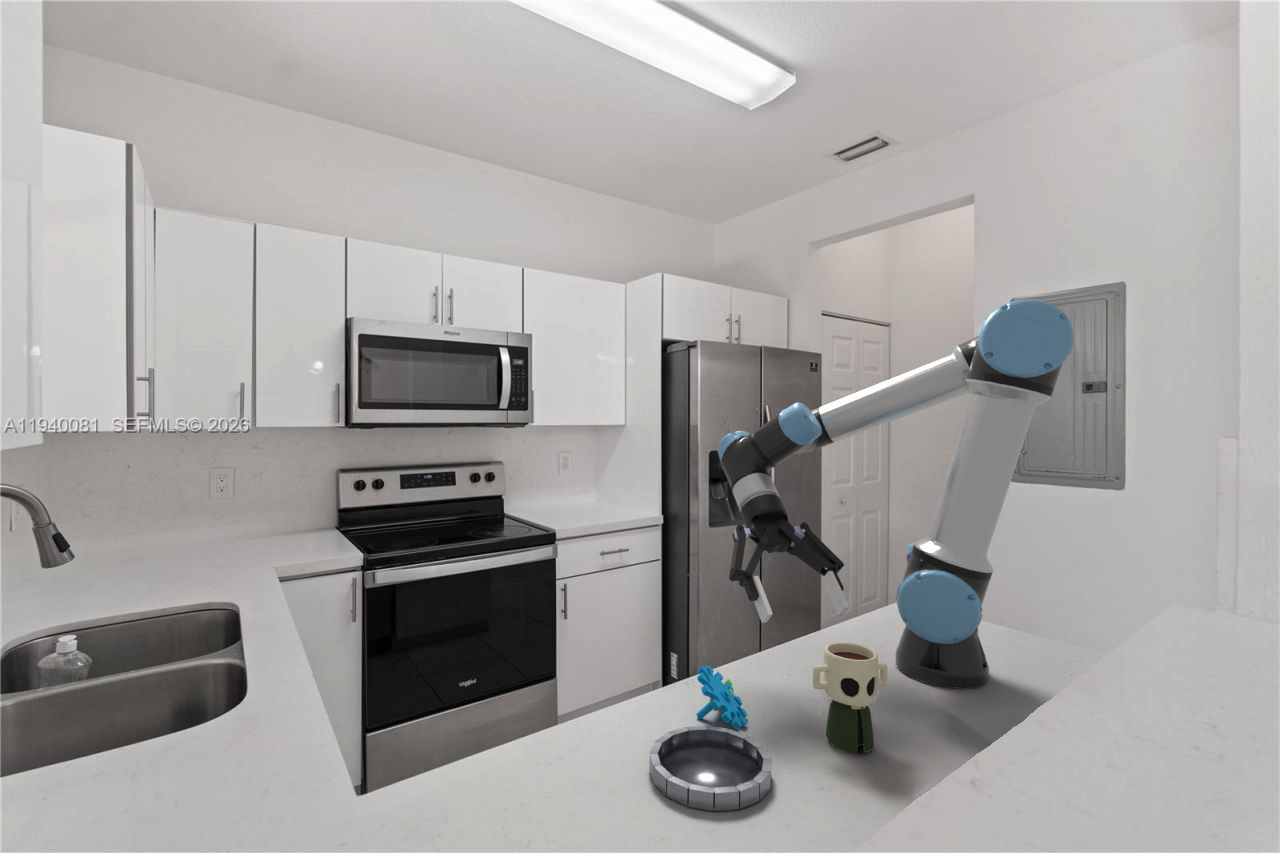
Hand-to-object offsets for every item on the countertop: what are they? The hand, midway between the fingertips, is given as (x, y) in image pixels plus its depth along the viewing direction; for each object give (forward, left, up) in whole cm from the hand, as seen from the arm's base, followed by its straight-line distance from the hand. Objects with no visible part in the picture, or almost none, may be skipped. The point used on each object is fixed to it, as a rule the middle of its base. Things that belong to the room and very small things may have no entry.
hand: (806, 615), depth 92 cm
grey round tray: (+19, +14, -15) cm, 28 cm away
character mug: (-2, +10, -15) cm, 18 cm away
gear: (+13, +1, -15) cm, 20 cm away
